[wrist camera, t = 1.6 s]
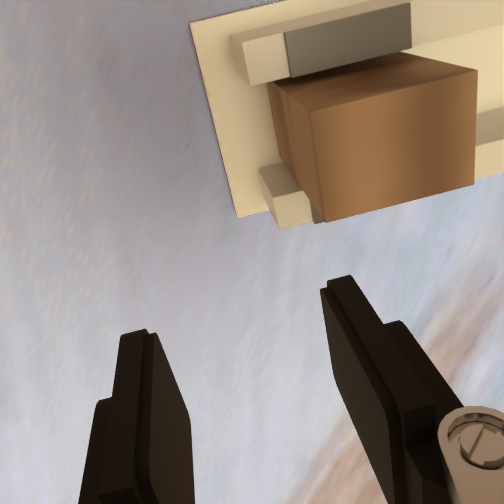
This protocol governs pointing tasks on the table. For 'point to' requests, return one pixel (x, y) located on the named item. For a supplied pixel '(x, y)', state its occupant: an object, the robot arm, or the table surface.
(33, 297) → the table surface
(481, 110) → the chute
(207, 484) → the table surface
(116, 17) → the table surface
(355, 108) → the block
